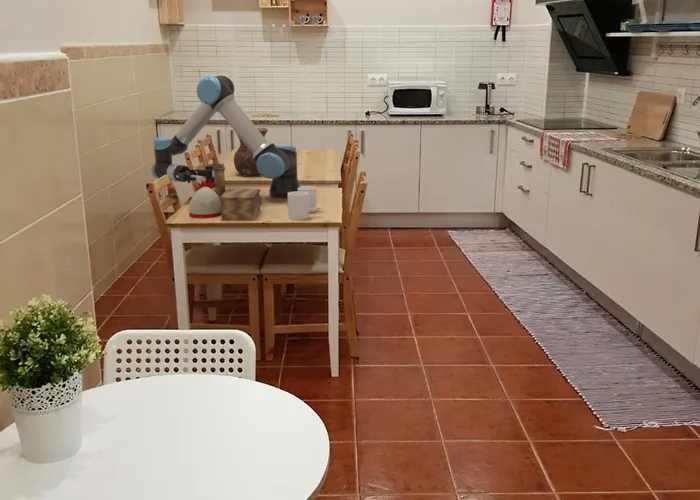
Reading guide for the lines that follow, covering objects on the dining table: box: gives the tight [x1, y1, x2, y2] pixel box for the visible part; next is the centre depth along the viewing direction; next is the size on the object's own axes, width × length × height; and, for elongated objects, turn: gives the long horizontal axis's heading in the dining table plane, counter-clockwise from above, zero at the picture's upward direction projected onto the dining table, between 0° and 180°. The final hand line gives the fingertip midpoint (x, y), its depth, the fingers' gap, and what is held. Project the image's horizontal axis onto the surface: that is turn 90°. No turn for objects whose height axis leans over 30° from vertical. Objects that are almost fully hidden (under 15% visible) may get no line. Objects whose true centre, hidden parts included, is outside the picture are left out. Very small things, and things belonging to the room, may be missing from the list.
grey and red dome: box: [188, 178, 222, 219], centre depth 288 cm, size 14×14×15 cm
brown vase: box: [233, 127, 268, 177], centre depth 379 cm, size 22×21×25 cm
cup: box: [287, 191, 318, 221], centre depth 282 cm, size 8×12×10 cm
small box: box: [204, 163, 225, 188], centre depth 352 cm, size 11×6×10 cm, turn 168°
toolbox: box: [220, 188, 262, 221], centre depth 294 cm, size 14×33×9 cm, turn 179°
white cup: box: [297, 185, 317, 214], centre depth 292 cm, size 8×8×10 cm
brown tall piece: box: [213, 166, 226, 199], centre depth 309 cm, size 5×5×16 cm
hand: (212, 177), depth 310 cm, fingers open, 13 cm apart
